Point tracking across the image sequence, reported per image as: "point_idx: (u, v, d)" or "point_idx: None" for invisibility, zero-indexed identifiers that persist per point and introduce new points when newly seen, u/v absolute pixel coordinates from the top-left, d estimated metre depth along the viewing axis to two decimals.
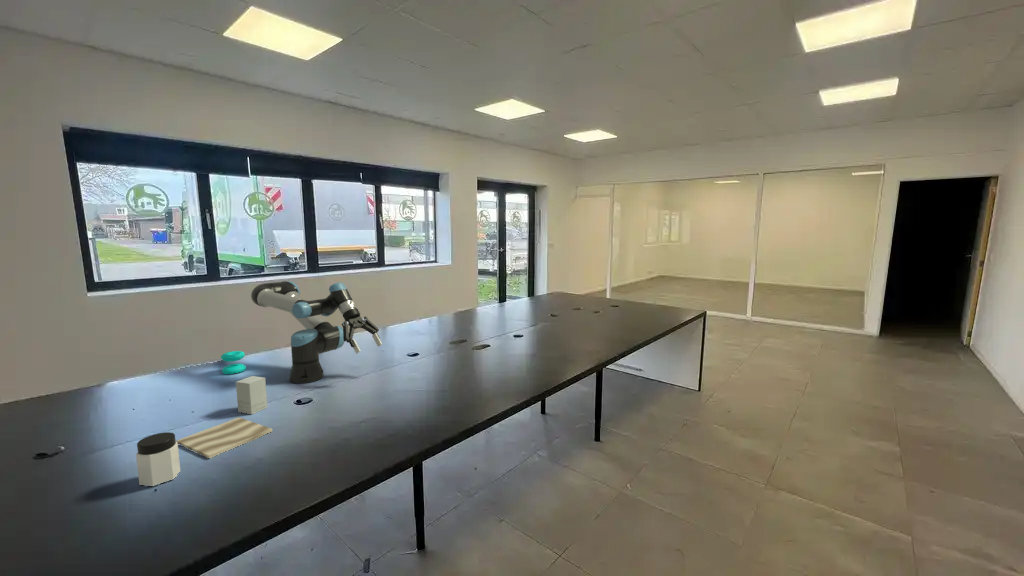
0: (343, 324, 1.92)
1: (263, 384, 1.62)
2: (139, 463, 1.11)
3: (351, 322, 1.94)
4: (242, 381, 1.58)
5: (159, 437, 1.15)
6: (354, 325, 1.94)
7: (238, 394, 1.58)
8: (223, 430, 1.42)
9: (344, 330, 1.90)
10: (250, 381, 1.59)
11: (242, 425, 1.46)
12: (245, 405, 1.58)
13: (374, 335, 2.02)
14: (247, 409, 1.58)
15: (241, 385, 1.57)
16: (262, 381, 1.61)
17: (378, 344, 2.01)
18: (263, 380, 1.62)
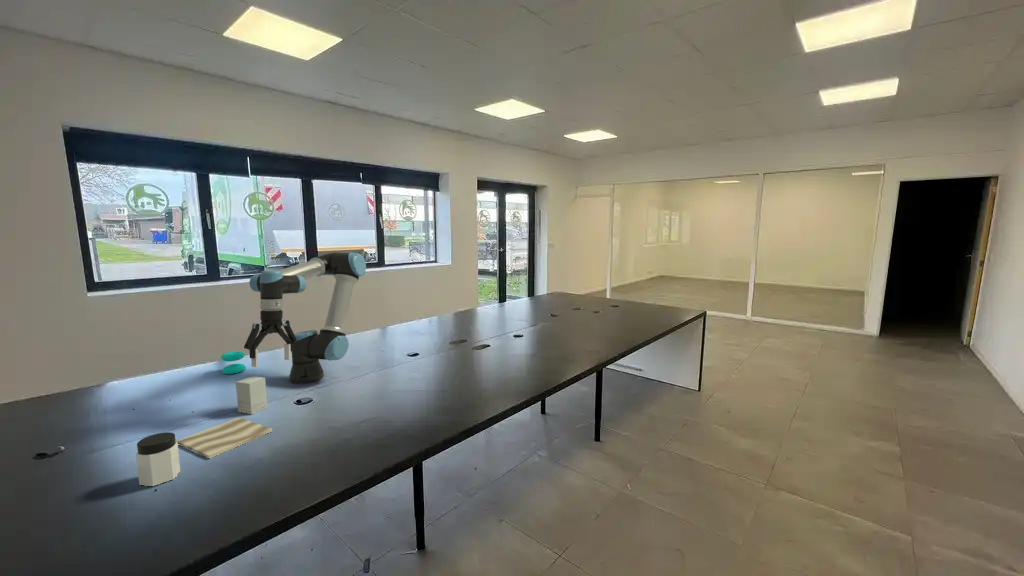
0: (254, 326, 1.54)
1: (263, 384, 1.62)
2: (139, 463, 1.11)
3: (265, 326, 1.57)
4: (242, 381, 1.58)
5: (159, 437, 1.15)
6: (267, 332, 1.57)
7: (238, 394, 1.58)
8: (223, 430, 1.42)
9: (251, 335, 1.53)
10: (250, 381, 1.59)
11: (242, 425, 1.46)
12: (245, 405, 1.58)
13: (287, 346, 1.66)
14: (247, 409, 1.58)
15: (241, 385, 1.57)
16: (262, 381, 1.61)
17: (286, 357, 1.67)
18: (263, 380, 1.62)
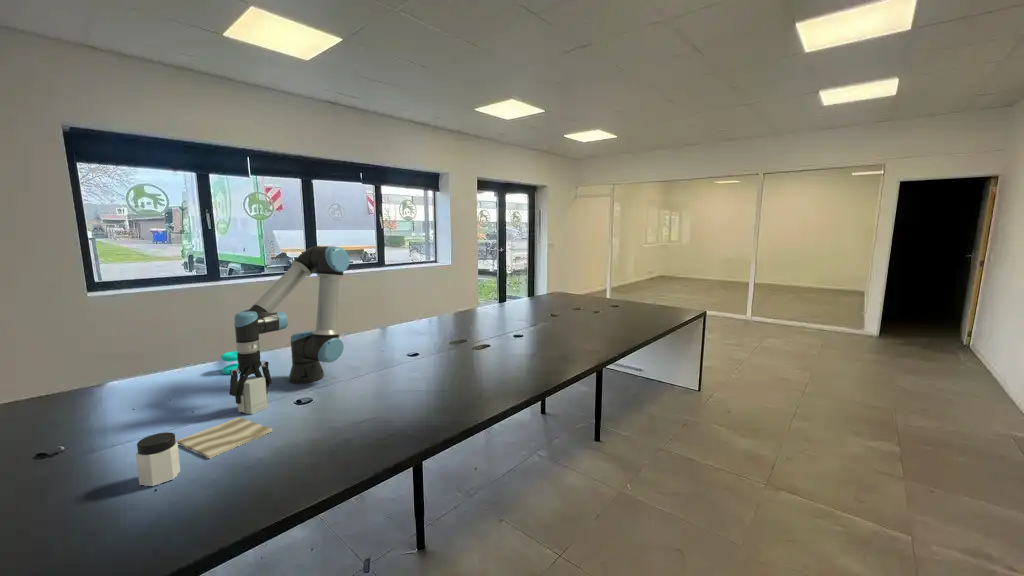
0: (231, 373, 1.54)
1: (263, 384, 1.62)
2: (139, 463, 1.11)
3: (243, 369, 1.57)
4: None
5: (159, 437, 1.15)
6: (246, 375, 1.57)
7: None
8: (223, 430, 1.42)
9: (232, 382, 1.54)
10: (250, 381, 1.59)
11: (242, 425, 1.46)
12: (245, 405, 1.58)
13: None
14: (247, 409, 1.58)
15: None
16: (262, 381, 1.61)
17: None
18: (263, 380, 1.62)
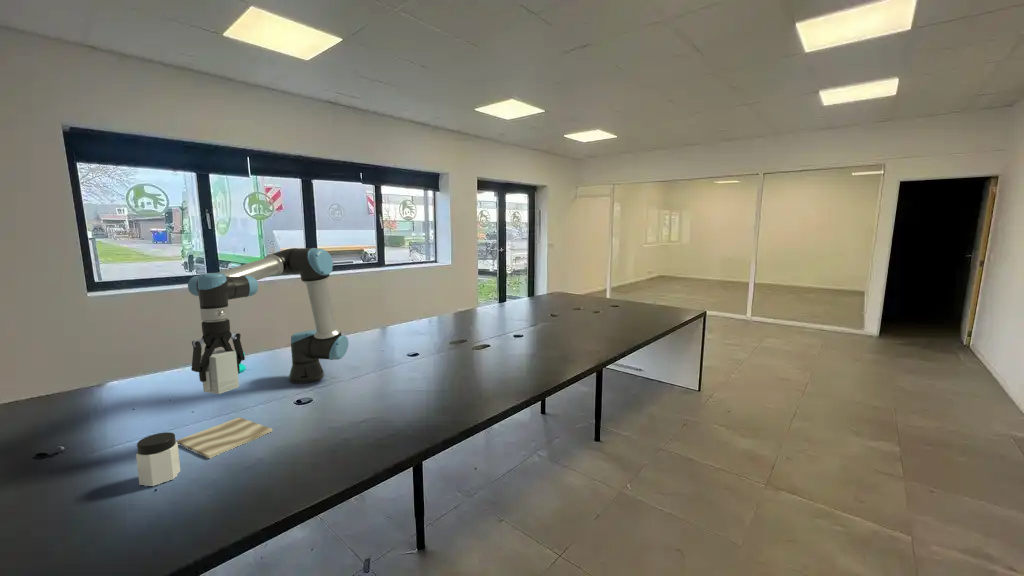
0: (194, 345, 1.29)
1: (233, 359, 1.37)
2: (139, 463, 1.11)
3: (208, 340, 1.32)
4: None
5: (159, 437, 1.15)
6: (212, 348, 1.32)
7: None
8: (223, 430, 1.42)
9: (194, 355, 1.29)
10: (217, 354, 1.34)
11: (242, 425, 1.46)
12: (211, 383, 1.33)
13: None
14: (214, 388, 1.33)
15: None
16: (232, 355, 1.36)
17: None
18: (233, 354, 1.37)
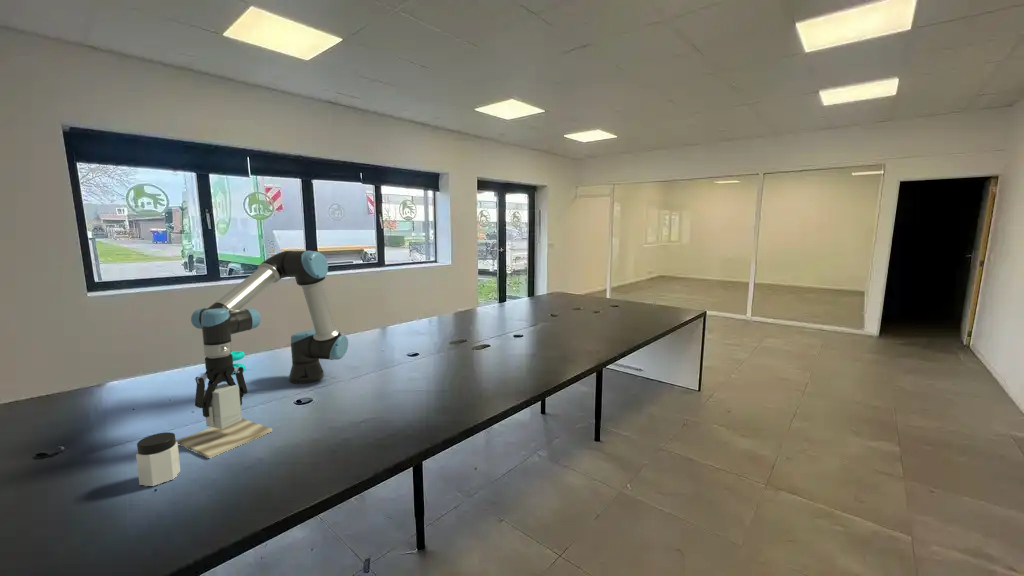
0: (197, 381, 1.31)
1: (236, 393, 1.38)
2: (139, 463, 1.11)
3: (212, 376, 1.33)
4: None
5: (159, 437, 1.15)
6: (216, 383, 1.34)
7: None
8: (223, 430, 1.42)
9: (198, 391, 1.31)
10: (220, 389, 1.35)
11: (242, 425, 1.46)
12: (214, 418, 1.34)
13: None
14: (217, 423, 1.34)
15: None
16: (234, 389, 1.38)
17: None
18: (236, 388, 1.38)
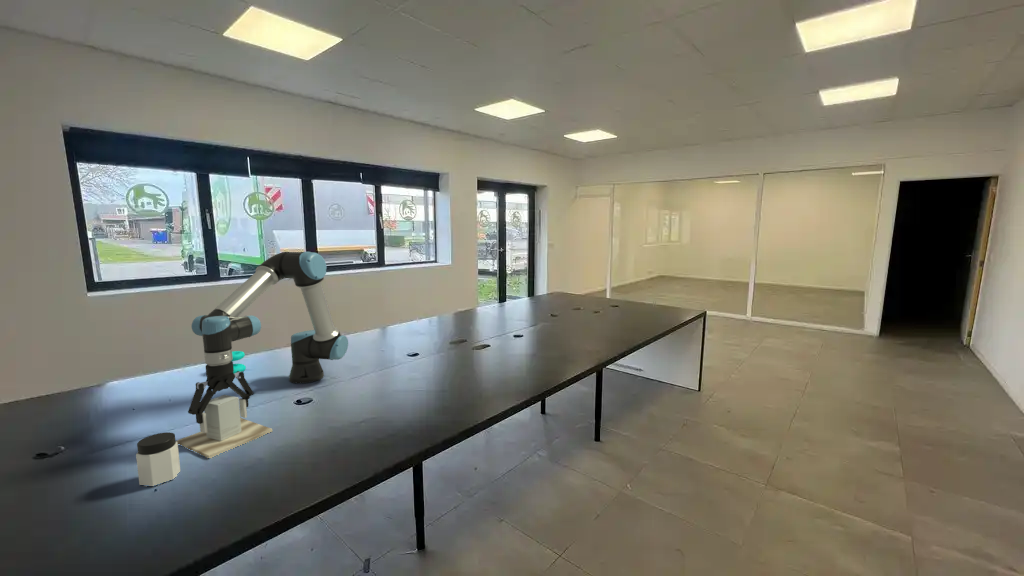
0: (197, 387, 1.31)
1: (236, 405, 1.39)
2: (139, 463, 1.11)
3: (212, 384, 1.33)
4: (211, 402, 1.35)
5: (159, 437, 1.15)
6: (214, 390, 1.34)
7: (206, 417, 1.36)
8: None
9: (195, 397, 1.30)
10: (220, 401, 1.36)
11: (242, 425, 1.46)
12: (214, 430, 1.35)
13: (241, 401, 1.43)
14: (216, 435, 1.35)
15: (209, 406, 1.34)
16: (234, 401, 1.38)
17: (242, 414, 1.44)
18: (236, 400, 1.39)
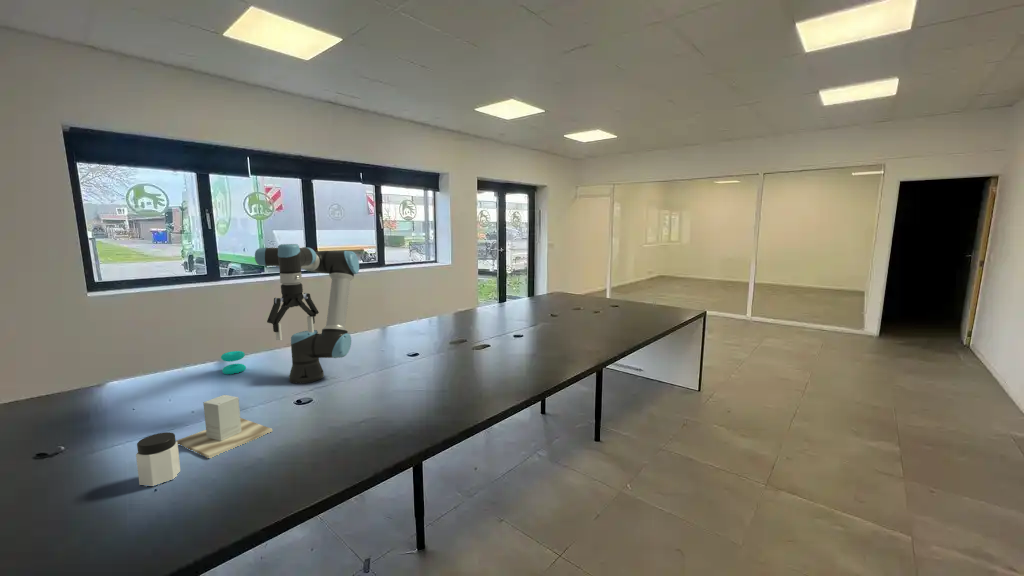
0: (275, 301, 1.55)
1: (236, 405, 1.39)
2: (139, 463, 1.11)
3: (286, 300, 1.57)
4: (211, 402, 1.35)
5: (159, 437, 1.15)
6: (288, 306, 1.58)
7: (206, 417, 1.36)
8: None
9: (273, 309, 1.54)
10: (220, 401, 1.36)
11: (242, 425, 1.46)
12: (214, 430, 1.35)
13: (309, 318, 1.67)
14: (216, 435, 1.35)
15: (209, 406, 1.34)
16: (234, 401, 1.38)
17: (309, 330, 1.68)
18: (236, 400, 1.39)
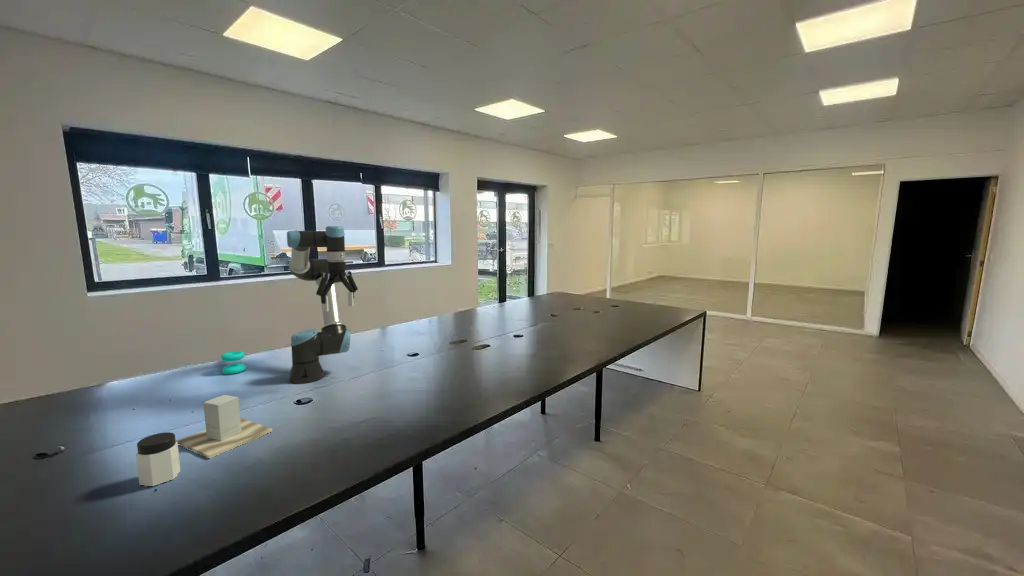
0: (323, 275, 1.75)
1: (236, 405, 1.39)
2: (139, 463, 1.11)
3: (332, 276, 1.77)
4: (211, 402, 1.35)
5: (159, 437, 1.15)
6: (334, 280, 1.77)
7: (206, 417, 1.36)
8: None
9: (321, 283, 1.74)
10: (220, 401, 1.36)
11: (242, 425, 1.46)
12: (214, 430, 1.35)
13: (350, 294, 1.87)
14: (216, 435, 1.35)
15: (209, 406, 1.34)
16: (234, 401, 1.38)
17: (349, 304, 1.88)
18: (236, 400, 1.39)
